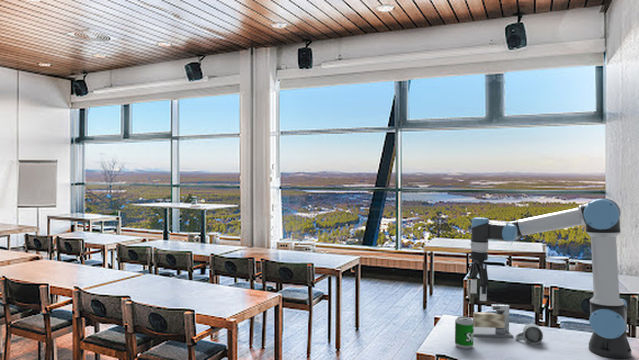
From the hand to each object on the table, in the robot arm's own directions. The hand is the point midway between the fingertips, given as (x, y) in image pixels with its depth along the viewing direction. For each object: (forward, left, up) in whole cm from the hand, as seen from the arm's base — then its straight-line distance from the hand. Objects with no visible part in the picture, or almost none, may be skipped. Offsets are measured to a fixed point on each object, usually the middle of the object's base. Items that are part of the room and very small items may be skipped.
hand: (478, 296), depth 206 cm
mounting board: (+5, -6, -18) cm, 19 cm away
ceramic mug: (-7, -21, -18) cm, 28 cm away
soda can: (-16, +11, -18) cm, 26 cm away
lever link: (0, -5, -14) cm, 14 cm away
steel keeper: (+3, -12, -18) cm, 21 cm away
